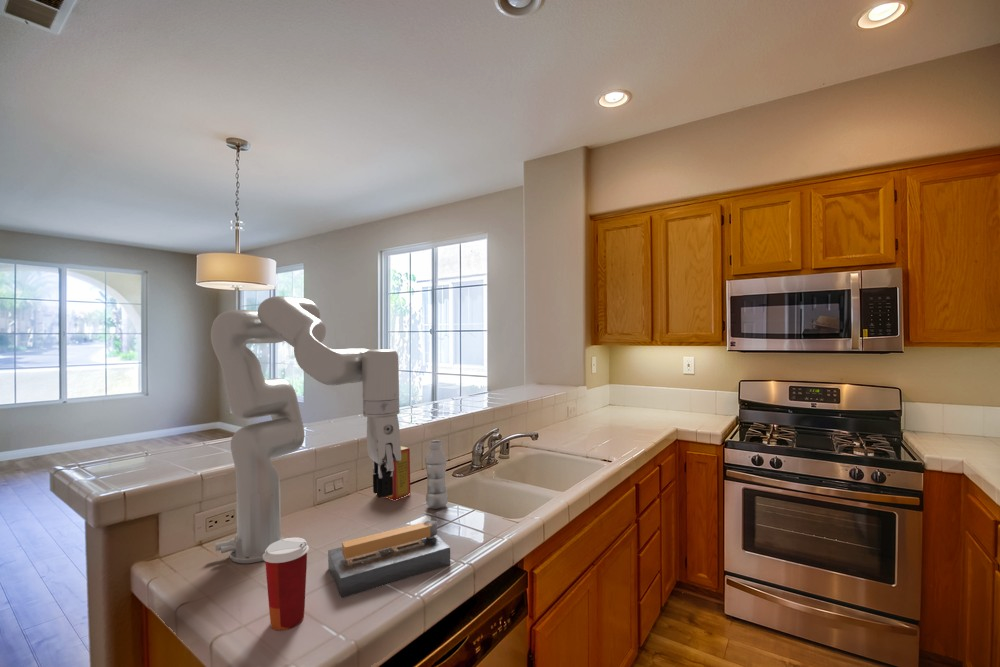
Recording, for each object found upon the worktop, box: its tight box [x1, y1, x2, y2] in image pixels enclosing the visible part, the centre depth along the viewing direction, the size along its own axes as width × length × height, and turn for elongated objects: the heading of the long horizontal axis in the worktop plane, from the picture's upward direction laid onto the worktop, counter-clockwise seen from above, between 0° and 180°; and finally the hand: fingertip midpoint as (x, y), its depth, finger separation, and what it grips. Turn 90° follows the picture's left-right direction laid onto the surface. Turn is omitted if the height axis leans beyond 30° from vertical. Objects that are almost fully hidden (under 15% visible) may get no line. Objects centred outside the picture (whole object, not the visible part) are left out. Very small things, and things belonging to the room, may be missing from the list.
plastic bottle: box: [424, 440, 449, 510], centre depth 137 cm, size 6×7×20 cm
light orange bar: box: [341, 520, 438, 559], centre depth 102 cm, size 22×3×2 cm, turn 121°
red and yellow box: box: [386, 445, 411, 500], centre depth 148 cm, size 10×6×16 cm
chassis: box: [327, 533, 451, 599], centre depth 102 cm, size 24×14×5 cm, turn 121°
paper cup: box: [263, 536, 310, 632], centre depth 83 cm, size 8×8×14 cm
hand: (383, 493), depth 95 cm, fingers closed
